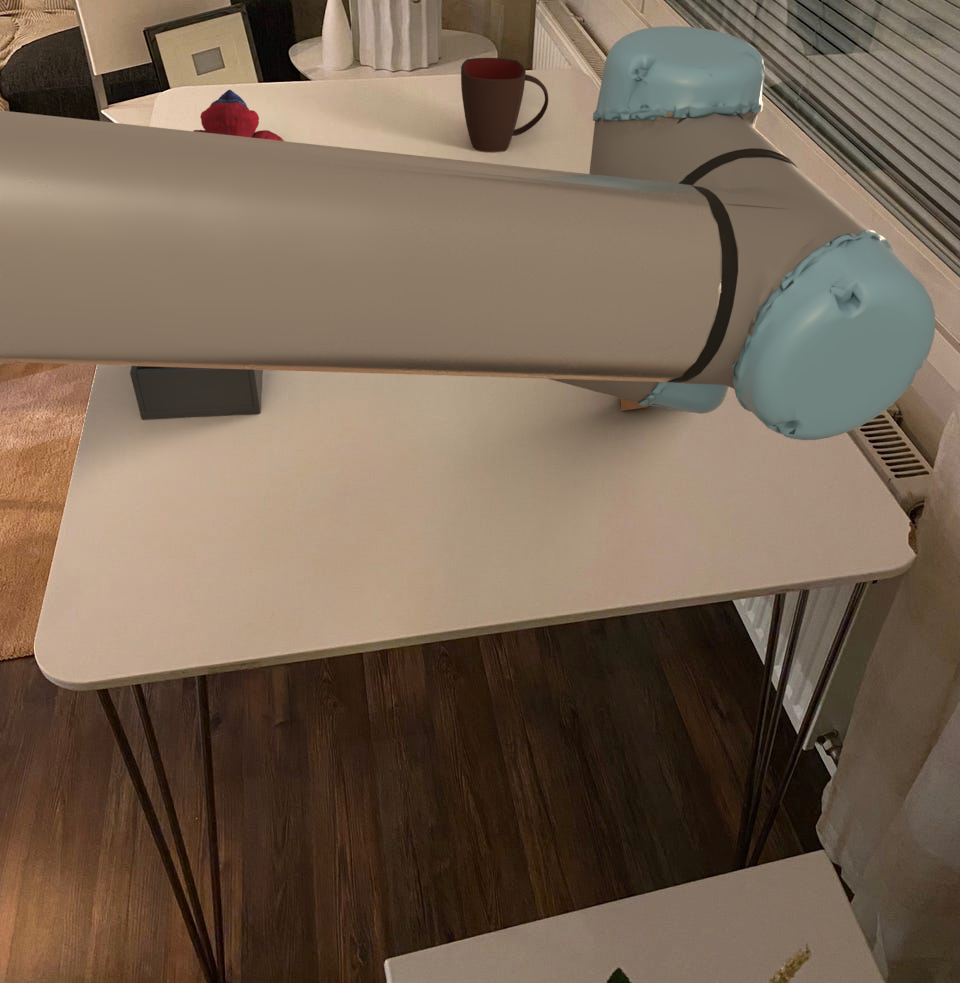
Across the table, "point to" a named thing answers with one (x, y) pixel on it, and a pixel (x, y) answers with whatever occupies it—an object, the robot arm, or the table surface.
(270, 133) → the figurine
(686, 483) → the table surface
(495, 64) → the cup
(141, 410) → the bin
